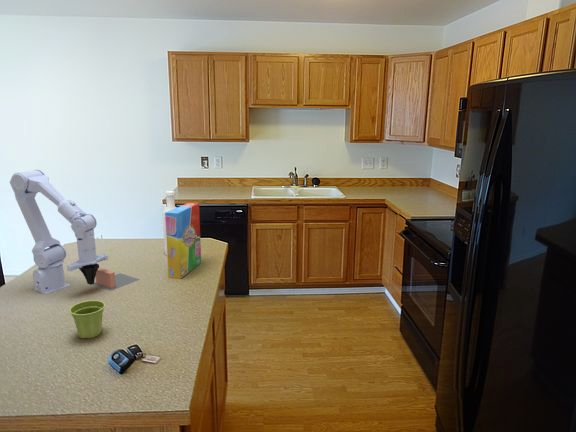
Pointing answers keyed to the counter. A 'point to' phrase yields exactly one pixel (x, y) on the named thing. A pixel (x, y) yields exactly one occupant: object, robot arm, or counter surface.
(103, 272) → the block
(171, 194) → the bottle
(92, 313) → the plant pot
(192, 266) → the game box
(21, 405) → the counter surface
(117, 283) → the mat
